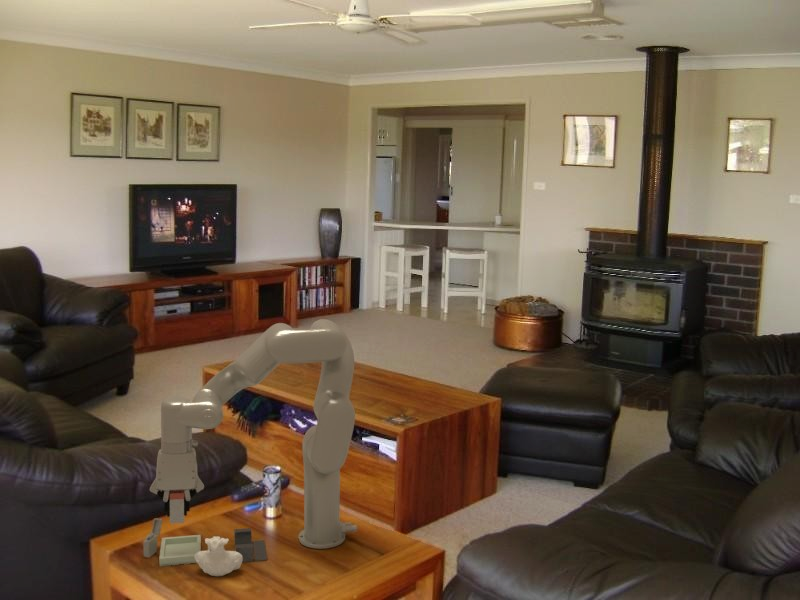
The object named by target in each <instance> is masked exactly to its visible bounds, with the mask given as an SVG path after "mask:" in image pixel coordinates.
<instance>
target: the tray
mask: <svg viewBox="0 0 800 600" xmlns="http://www.w3.org/2000/svg"><path fill="white" fill-rule="evenodd" d="M201 537H202V535H201V534H194V535H181V536H180V535H179V536H169V537H161V543H160V549H159V550H160V551H159V558H158V559H159V560H158V561H159V567H169V566H171V565H172V566H180V565H179V564H184V565H191V564H190V563H196V560H195V558H194V556H195V554H196V553H198V552H200V551H202V550H201V549H202V538H201ZM196 564H197V563H196ZM172 566H171V567H172Z"/></svg>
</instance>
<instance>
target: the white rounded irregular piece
mask: <svg viewBox="0 0 800 600" xmlns="http://www.w3.org/2000/svg"><path fill="white" fill-rule="evenodd" d="M229 541H230V540H229V538H224V537H220V536H215V535H214V536H213V537H211V538H207V537H206V538H205V539H204V543H205V544H206V545H207V550H201V551H200V552H198V553H196V554H195V556H194V558H195V560H196V564H198V566H199V568H200V569H201V570H202V571H203V572H204V573H205V574H207V575H209V576H211V577H223V576H225V575H228V574H230V573H232V572H233V571H236V570H238V569H239V568H241V566H242V564H243V562H242V561H243V557H242V555H241V554H240V553H238V552H236V551H235V550H226V549H225V546H226V545H227V544H228V543H229Z"/></svg>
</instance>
